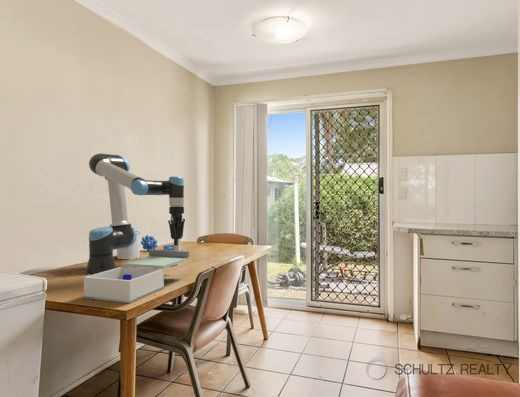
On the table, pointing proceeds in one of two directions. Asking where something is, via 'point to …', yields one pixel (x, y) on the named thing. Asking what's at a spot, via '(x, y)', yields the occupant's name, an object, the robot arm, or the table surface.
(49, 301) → the table surface
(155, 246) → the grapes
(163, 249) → the label tape cartridge
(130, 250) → the utensil holder
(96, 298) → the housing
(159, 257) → the lid
